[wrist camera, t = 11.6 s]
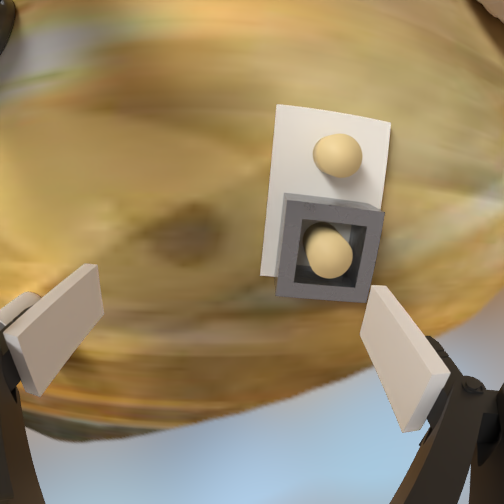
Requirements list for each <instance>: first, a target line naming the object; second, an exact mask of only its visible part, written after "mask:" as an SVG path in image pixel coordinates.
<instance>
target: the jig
mask: <svg viewBox="0 0 504 504" xmlns="http://www.w3.org/2000/svg"><path fill="white" fill-rule="evenodd" d="M390 127H391V123H390V122H385V121H381V120H376V119H371V118H366V117H361V116H356V115H350V114H345V113H339V112H333V111H326V110H320V109H313V108H305V107H298V106H289V105H280V104H277V106H276V116H275V127H274V138H273V149H272V160H271V170H270V180H269V191H268V201H267V211H266V221H265V231H264V241H263V251H262V261H261V271H260V275H261V276H272V277H274V274H275V266H276V258H277V249H278V241H279V232H280V223H281V215H282V205H283V196H284V193H292V194H301V195H310V196H318V197H326V198H334V199H342V200H349V201H356V202H363V203H369V204H371V205H373V206H374V207H376V208H378V209H381V202H382V196H383V189H384V181H385V174H386V166H387V157H388V148H389V138H390ZM351 226H352V225H351V224H343V223H335V222H326V221H318V220H309V219H302V225H301V233H300V240H299V248H298V255H297V262H296V265H304V266H311V268H312V270H313V271H314V272H315V273H316V274H317V275H319V276H320V277H323V278H336V277H339V276H341V275H342V274H344V273H345V272H346V271H347V270H348V268H349V267H350V265H351V263H352V258H353V254H352V249H351V247H350V245H349V238H350V232H351Z"/></svg>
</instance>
